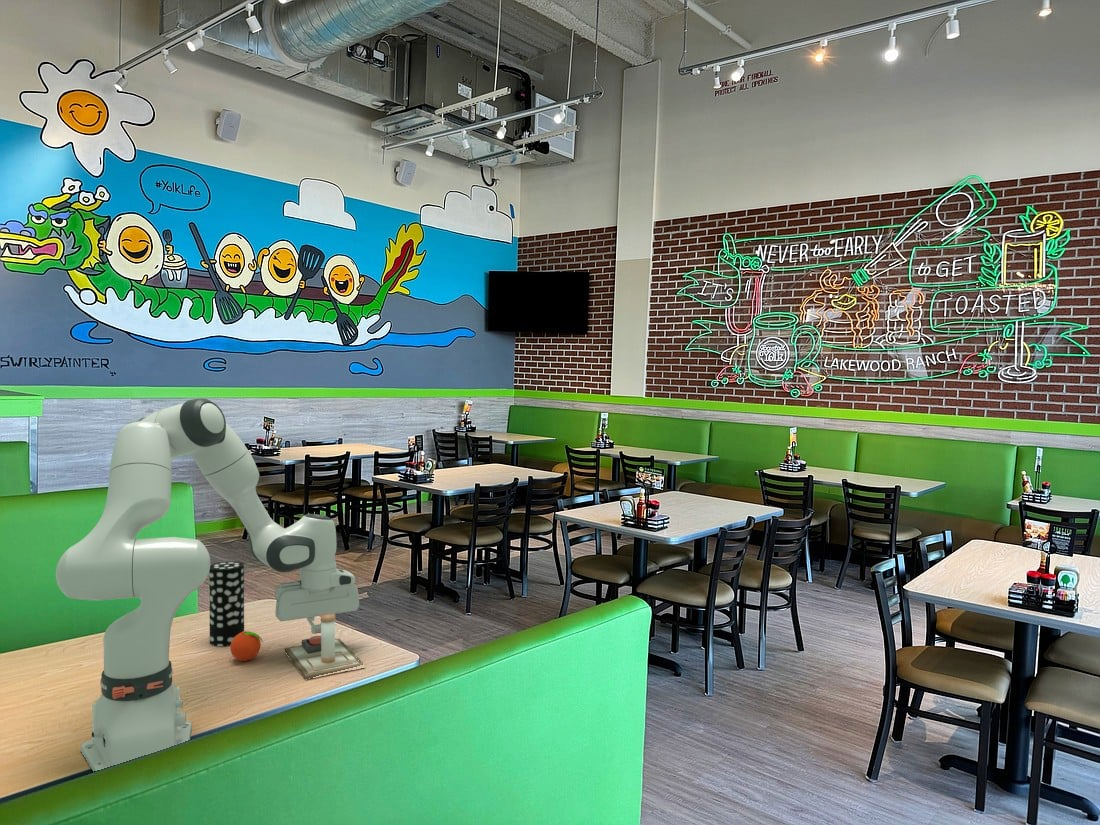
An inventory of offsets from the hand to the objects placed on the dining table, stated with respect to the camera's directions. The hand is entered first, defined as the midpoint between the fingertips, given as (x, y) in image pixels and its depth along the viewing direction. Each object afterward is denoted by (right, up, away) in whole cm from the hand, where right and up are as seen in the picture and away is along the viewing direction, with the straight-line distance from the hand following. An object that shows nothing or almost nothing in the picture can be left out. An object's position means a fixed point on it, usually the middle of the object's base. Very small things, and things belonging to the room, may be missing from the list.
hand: (317, 632), depth 193 cm
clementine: (-16, -5, -5) cm, 17 cm away
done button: (0, -3, +1) cm, 4 cm away
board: (+3, -6, -4) cm, 7 cm away
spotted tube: (-26, -4, +7) cm, 27 cm away
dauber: (+5, -5, -7) cm, 10 cm away
